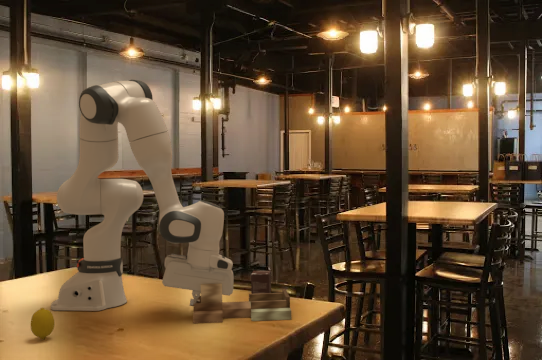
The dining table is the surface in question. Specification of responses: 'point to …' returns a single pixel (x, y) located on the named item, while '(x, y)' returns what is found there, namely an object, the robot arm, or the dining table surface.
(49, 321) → the lemon
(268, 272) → the box
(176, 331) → the dining table surface
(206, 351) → the dining table surface
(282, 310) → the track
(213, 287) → the block
